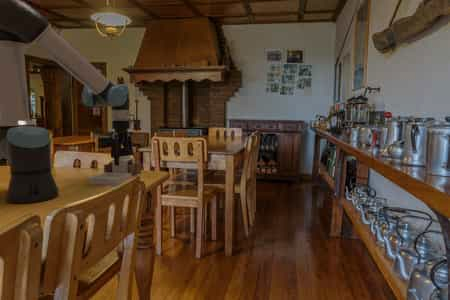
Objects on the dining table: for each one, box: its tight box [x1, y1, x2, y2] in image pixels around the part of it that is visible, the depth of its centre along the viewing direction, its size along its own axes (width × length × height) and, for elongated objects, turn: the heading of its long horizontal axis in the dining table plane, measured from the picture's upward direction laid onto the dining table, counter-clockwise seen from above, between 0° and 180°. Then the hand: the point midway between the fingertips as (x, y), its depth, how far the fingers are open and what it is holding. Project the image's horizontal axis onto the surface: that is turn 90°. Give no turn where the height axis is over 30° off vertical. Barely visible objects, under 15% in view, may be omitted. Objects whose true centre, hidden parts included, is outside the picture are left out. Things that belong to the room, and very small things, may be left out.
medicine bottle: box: [111, 147, 134, 173], centre depth 146 cm, size 7×7×12 cm
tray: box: [88, 172, 132, 186], centre depth 133 cm, size 12×12×2 cm
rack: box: [103, 161, 142, 178], centre depth 146 cm, size 10×12×5 cm
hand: (123, 170), depth 146 cm, fingers closed on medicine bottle, 8 cm apart
